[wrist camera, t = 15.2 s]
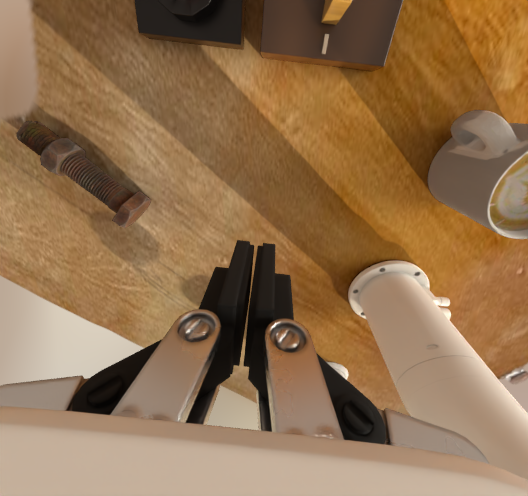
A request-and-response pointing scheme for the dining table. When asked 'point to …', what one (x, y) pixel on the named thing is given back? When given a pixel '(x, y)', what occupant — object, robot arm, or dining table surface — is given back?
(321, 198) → the dining table surface
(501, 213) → the coffee mug
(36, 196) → the dining table surface
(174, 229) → the dining table surface
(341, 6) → the gold slab
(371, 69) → the plate
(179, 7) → the button box
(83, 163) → the bolt
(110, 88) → the dining table surface
